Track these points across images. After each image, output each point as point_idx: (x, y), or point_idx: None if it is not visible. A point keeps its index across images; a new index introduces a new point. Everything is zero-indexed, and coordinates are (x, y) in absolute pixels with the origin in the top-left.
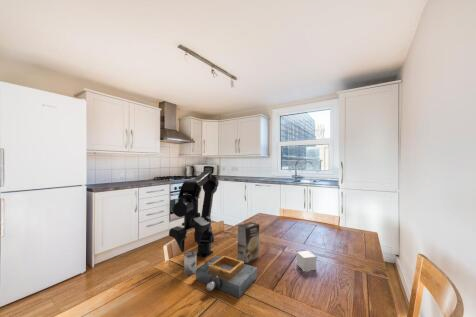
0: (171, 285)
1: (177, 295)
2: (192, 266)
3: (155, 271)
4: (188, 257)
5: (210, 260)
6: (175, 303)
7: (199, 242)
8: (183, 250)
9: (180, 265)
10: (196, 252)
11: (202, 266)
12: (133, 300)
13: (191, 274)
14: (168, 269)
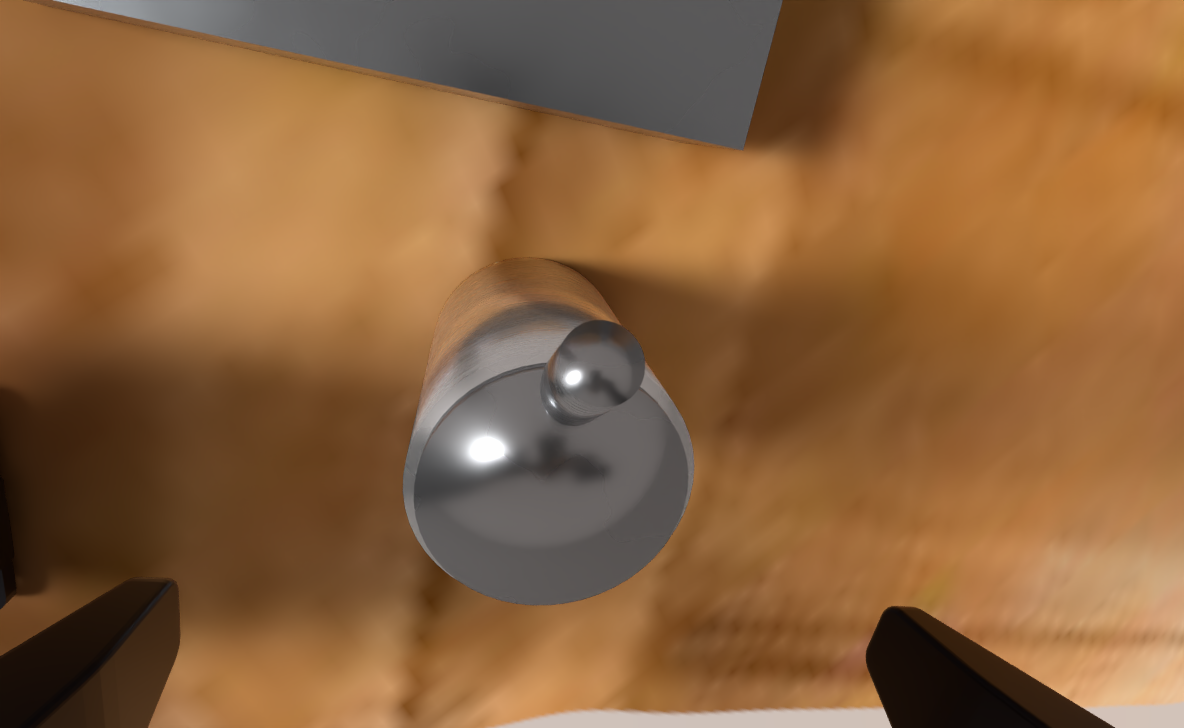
0: (872, 363)
1: (1030, 171)
2: (602, 306)
3: (680, 686)
4: (682, 448)
5: (261, 21)
6: (1156, 100)
7: (108, 607)
8: (934, 630)
9: None
10: (562, 358)
11: (601, 71)
12: (1116, 505)
13: (589, 282)
14: (594, 612)
